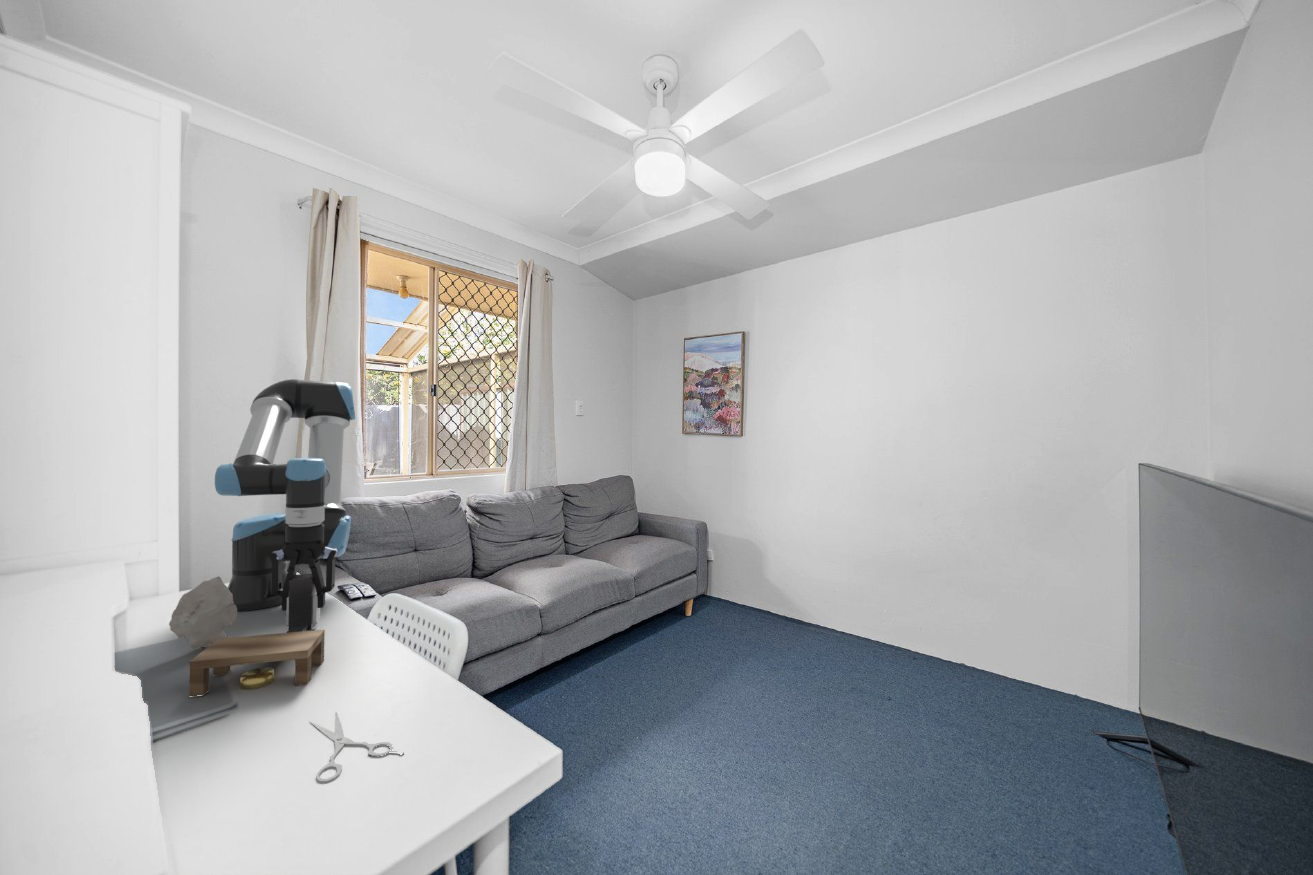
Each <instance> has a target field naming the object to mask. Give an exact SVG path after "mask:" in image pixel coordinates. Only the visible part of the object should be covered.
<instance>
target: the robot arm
mask: <svg viewBox="0 0 1313 875" xmlns="http://www.w3.org/2000/svg"><path fill="white" fill-rule="evenodd" d="M249 410H250V415H251V417H250V420H249V423H248V425H247V428H246V429H245V433H244V436H243V438H242V441H241V443H240V444H239V449H238V451H237V453H236V455H235V459H234V460H233V463H228V464H220V465H218V467H217V468H216V470H215V474H214V487H215V488H214V489H215V492H216V493H217V494H218V495H219V496H222V497H223V496H224V497H225V496H231V497H232V496H233V497H234V496H235V497H247V496H249V497H250V496H251V497H252V496H269V495H271V496H272V495H285V498H286V499H285V501H286V503H285V512H284V513H269V514H263V515H257V516H253V517H249V518H245V519H242V520H239V521H238V522H236V523H235V524H234V526H233V528H232V538H231V542H232V545H231V548H232V550H231V551H232V552H231V553H232V557H231V570H232V571H231V578H230V581H229V583H228V585H227V588H228V589H229V590H230V592H231V593H232V594H233V602H234V604H233V605H236V607H237V612H239V611H240V612H241V611H243V612H244V611H254V610H262V609H268V608H271V607H274V606H279V605H281V610H282V611H284V612H285V611H286V614H285V615H286V622H285V626H287V627H288V626H289V580H290V579H292V578H294V577H295V576H296V575H297V573H298V570H299V566H300V565H302V564H303V565H305V564H306V565H308V568H309V570H310V574H312V576H313V577H314V584H315V588H316V592H317V593H316V594H315V595H314V596H313V624H315V623H317V622H319V621H320V620H321V609H323V607H325V605H326V593H329V592H332V590H333V589H334V588H335V585H336V584H335V583H336V582H335V581H336V558H338V557H341V556H342V555H344V554H345V552H346V550H347V547H348V542H349V538H350V532H351V524H352V517H351V516H350V515H349V514H348V515H346V514H347V510H346V509H345V508H344V507H343V506H342V505H341V496H342V494H341V493H342V492H341V491H342V474H343V473H342V470H343V449H344V431H345V429H347V428H348V427H350V421H353V420H354V421H355V419H356V413H355V412H356V411H355V403H354V396H353V388H352V386H351V384H349V383H348V382H341V381H339V382H338V381H335V380H334V381H327V380H326V381H325V380H309V379H308V380H307V379H306V380H305V379H297V378H296V379H294V378H292V379H286V380H285V379H284V380H282V381H281V380H280V381H278V382H276V383H273V384H271V385H270V386H268V387H266V388H264V389H263V390H262V391H260V392H259V393H258V394H257V395H256V396H255V397H254V399H253V400H252V403H251V406H250V409H249ZM294 418H295V419H304V421H303V423H304V424H305V426H307V427H308V428H309V437H308V438H309V439H308V453H307V454H308V456H307V457H299V458H297V457H296V458H291V459H289V460H287V463H274V461H275V457H276V454H277V452H278V451H277V450H278V448H279V444H280V441H281V437H282V435H283V434H282V433H283V432H284V431H283V430H284V428H285V425H286V423H288V422H289V421H291V419H294ZM320 559H323V560H325V559H326V564H325V566H326V568H325V569H326V572H325V573H326V574H325V581H324V576H323V573H322V569H321V565H320V563H321V562H320ZM287 562H289V564H288V570H287ZM317 624H318V623H317Z"/></svg>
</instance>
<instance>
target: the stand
mask: <svg viewBox="0 0 1313 875" xmlns="http://www.w3.org/2000/svg"><path fill="white" fill-rule="evenodd" d="M291 660H295V662H294V664H295V665H294V667H295V668H294V686H295V687H296V686H303V685H308V684H309V682H310V681H311V680H312V666H313V667H314V666H321V665H322V664H323V663H324V662H325V629H318V630H317V629H316V630H315V629H314V630H313V629H312V630H307V631H302V632H290V633H286V632H281V633H270V634H269V633H268V634H257V635H245V636H244V635H243V636H233V637H225V638H220V639H218V640H216V641H215V642H214V643H213V644H211V645H209V646H207V647H205V649H204V650H203V651H201V652H200V653H199V654H197V655H196V656H195V657H193V658H192V659H191V660H190V661H189V675H188V676H189V678H188V679H189V682H188V683H189V684H188V685H189V686H188V687H189V688H188V692H189V693H188V697H189V696H197V695H203V694H205V693H206V692H207V691H208V690H209V691H210V669H212V676H213V675H220V676H226V675H227V674H228V673H229V672H230V671H232V670H231V668H232V667H233V666H242V665H249V664H250V665H253V664H262V663H273V662H281V661H291ZM209 691H208V692H209ZM208 692H207V693H208ZM207 693H206V694H207ZM206 694H205V695H206Z"/></svg>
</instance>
